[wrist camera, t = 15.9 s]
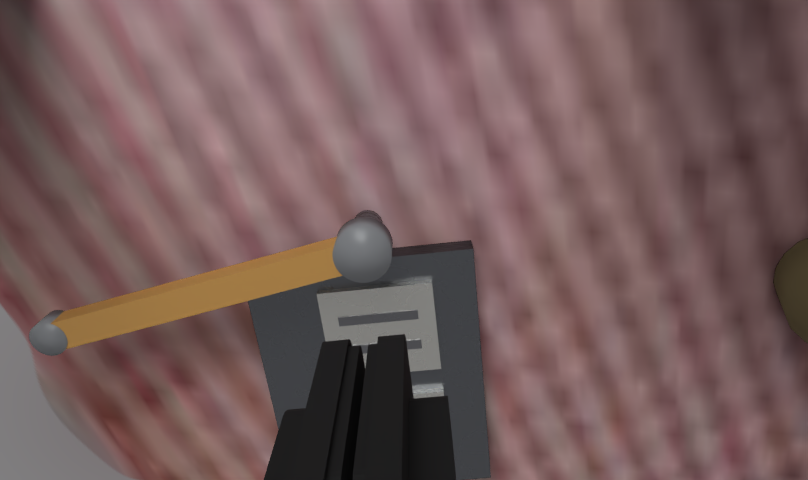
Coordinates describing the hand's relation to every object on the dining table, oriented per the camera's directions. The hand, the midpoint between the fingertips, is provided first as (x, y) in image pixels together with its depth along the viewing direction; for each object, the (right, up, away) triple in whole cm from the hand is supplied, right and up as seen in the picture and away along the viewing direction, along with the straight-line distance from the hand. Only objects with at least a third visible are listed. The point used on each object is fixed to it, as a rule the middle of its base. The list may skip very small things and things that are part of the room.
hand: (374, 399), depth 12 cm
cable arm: (-12, 0, +28) cm, 30 cm away
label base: (-2, -5, +34) cm, 34 cm away
